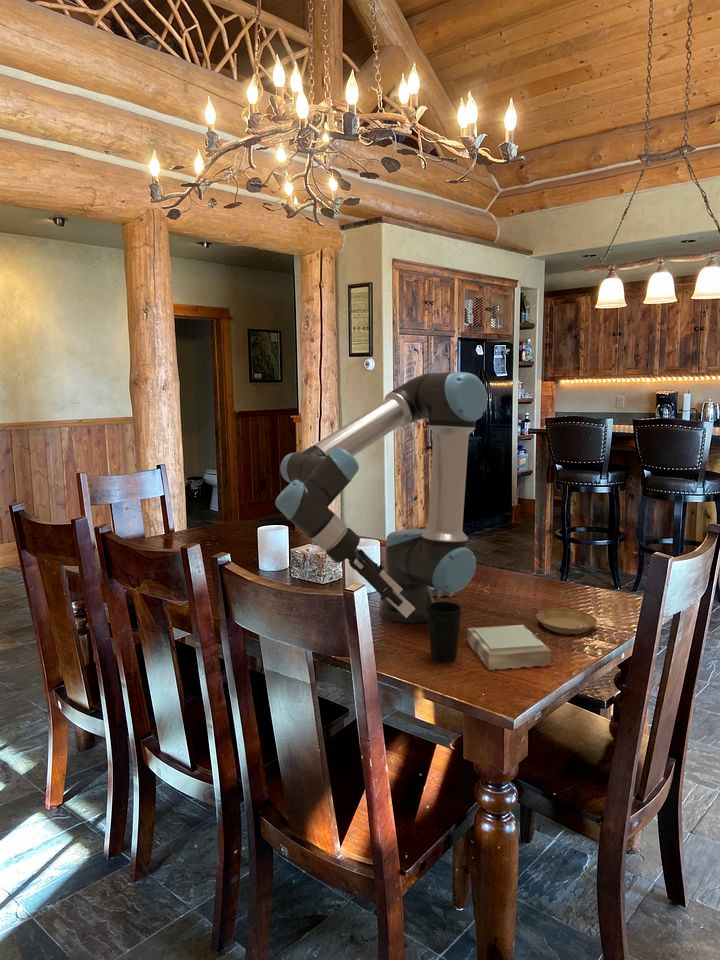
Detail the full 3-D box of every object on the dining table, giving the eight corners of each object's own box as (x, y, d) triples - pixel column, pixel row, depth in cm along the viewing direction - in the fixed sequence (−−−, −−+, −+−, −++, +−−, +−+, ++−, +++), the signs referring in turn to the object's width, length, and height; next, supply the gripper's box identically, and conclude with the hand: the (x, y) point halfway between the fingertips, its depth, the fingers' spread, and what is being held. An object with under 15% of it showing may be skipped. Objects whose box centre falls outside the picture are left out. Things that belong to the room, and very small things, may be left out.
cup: (459, 651, 151) (460, 601, 150) (461, 665, 144) (462, 613, 142) (426, 650, 152) (426, 601, 150) (426, 664, 145) (427, 612, 143)
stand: (467, 642, 157) (467, 626, 156) (522, 638, 159) (523, 622, 158) (489, 670, 141) (489, 652, 141) (550, 665, 143) (551, 648, 142)
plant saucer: (603, 624, 168) (603, 614, 168) (587, 642, 156) (587, 632, 156) (547, 613, 177) (547, 604, 176) (528, 630, 165) (528, 620, 164)
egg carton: (451, 590, 198) (452, 577, 198) (456, 598, 191) (456, 584, 190) (417, 591, 198) (417, 578, 197) (420, 599, 190) (420, 585, 190)
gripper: (320, 538, 153) (383, 597, 157) (328, 566, 128) (403, 635, 132) (342, 515, 153) (404, 574, 157) (355, 539, 128) (429, 608, 132)
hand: (404, 602), depth 144 cm, fingers open, 13 cm apart
